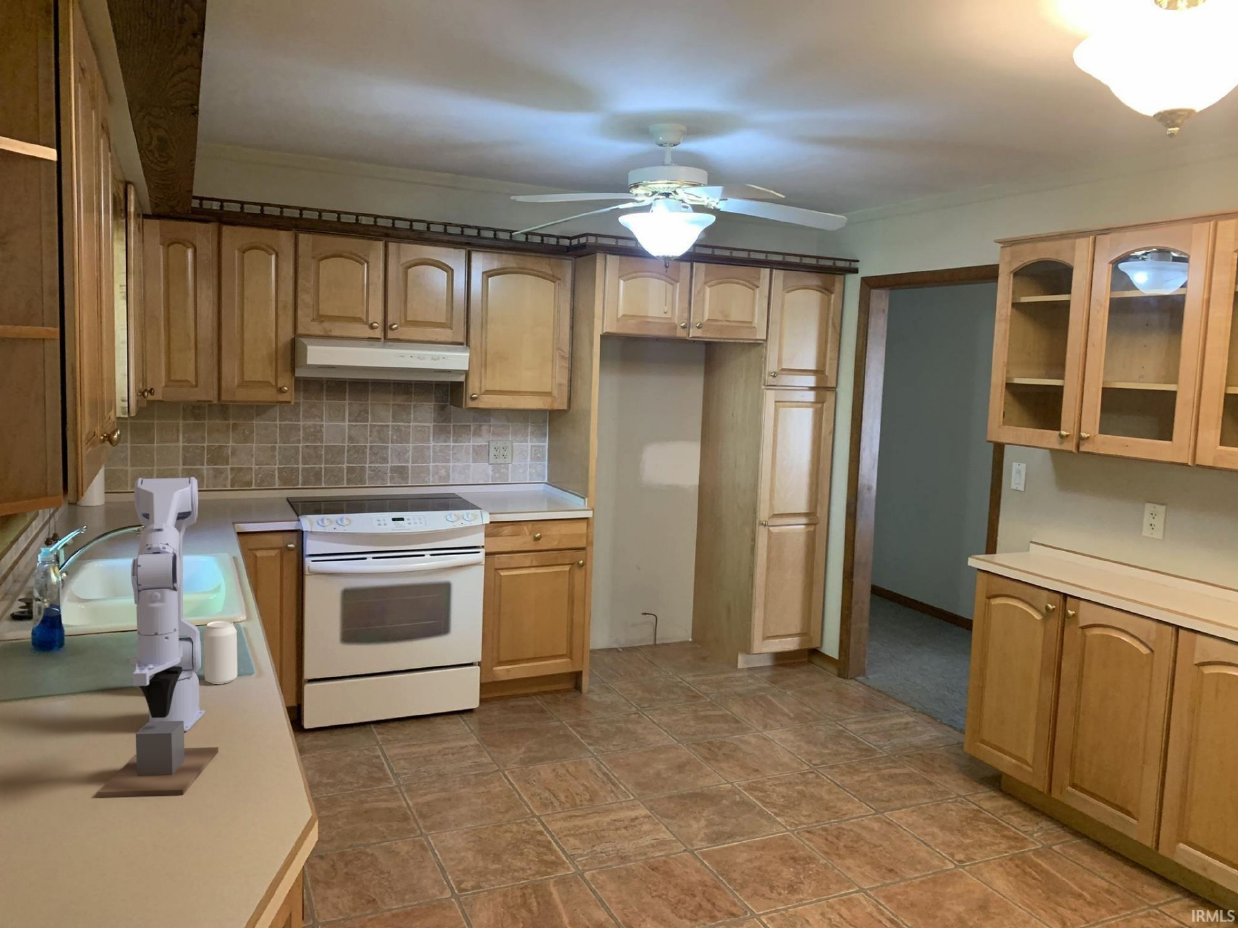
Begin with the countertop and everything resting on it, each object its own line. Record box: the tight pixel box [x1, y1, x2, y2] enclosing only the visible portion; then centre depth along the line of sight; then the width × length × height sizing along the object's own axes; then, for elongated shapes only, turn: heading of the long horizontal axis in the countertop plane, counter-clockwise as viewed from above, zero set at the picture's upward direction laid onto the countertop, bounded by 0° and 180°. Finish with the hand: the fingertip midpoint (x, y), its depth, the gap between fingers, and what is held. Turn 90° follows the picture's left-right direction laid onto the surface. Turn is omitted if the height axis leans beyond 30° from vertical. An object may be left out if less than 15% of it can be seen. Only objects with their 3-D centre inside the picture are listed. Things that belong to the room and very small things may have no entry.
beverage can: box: [203, 620, 238, 683], centre depth 187 cm, size 6×6×12 cm
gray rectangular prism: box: [135, 721, 185, 776], centre depth 143 cm, size 5×5×7 cm
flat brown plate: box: [97, 746, 219, 798], centre depth 143 cm, size 16×12×6 cm
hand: (160, 716), depth 143 cm, fingers closed
